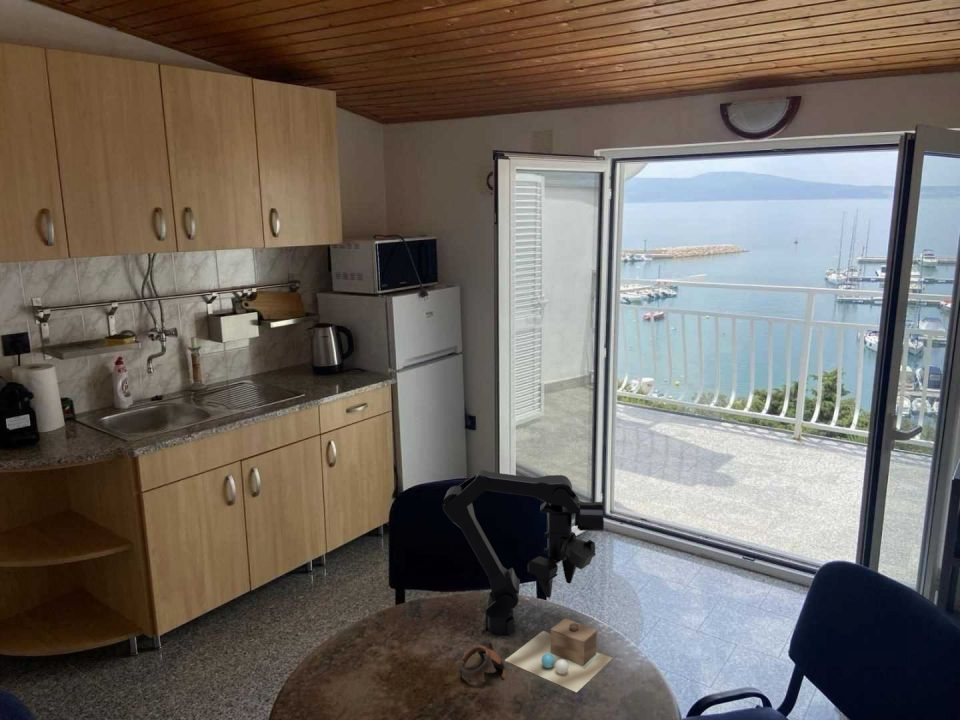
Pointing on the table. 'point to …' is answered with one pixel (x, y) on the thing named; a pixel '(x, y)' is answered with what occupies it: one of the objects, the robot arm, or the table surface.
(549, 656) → the marble teal
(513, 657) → the serving board
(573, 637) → the walnut cover
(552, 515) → the robot arm
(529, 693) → the table surface
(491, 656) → the pottery mug
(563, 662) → the marble ivory
